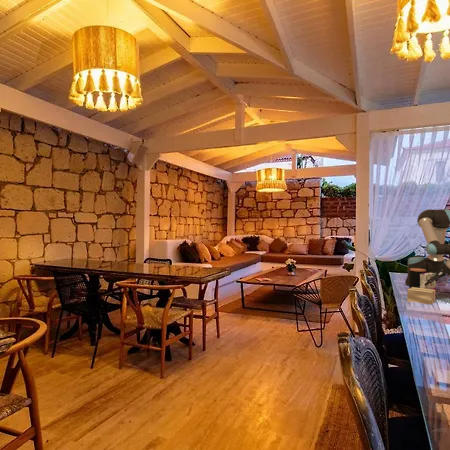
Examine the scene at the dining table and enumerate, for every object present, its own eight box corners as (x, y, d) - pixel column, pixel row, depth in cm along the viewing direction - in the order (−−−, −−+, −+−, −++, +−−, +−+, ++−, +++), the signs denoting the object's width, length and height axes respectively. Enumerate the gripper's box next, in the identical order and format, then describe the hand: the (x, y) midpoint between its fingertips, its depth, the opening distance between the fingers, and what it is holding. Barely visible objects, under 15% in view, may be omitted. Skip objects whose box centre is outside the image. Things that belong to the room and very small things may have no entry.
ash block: (412, 298, 244) (412, 287, 244) (435, 301, 235) (435, 289, 235) (407, 301, 235) (407, 289, 235) (431, 305, 226) (431, 292, 226)
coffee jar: (428, 295, 252) (428, 270, 252) (411, 294, 254) (412, 270, 254) (422, 292, 263) (423, 268, 262) (407, 291, 265) (407, 268, 264)
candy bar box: (428, 295, 251) (429, 272, 250) (436, 296, 247) (436, 273, 246) (419, 297, 246) (419, 273, 245) (426, 298, 241) (426, 274, 241)
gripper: (450, 273, 226) (423, 293, 237) (458, 269, 243) (432, 288, 254) (440, 264, 229) (414, 284, 241) (449, 261, 247) (424, 279, 258)
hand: (424, 286), depth 248 cm, fingers closed on candy bar box, 12 cm apart
